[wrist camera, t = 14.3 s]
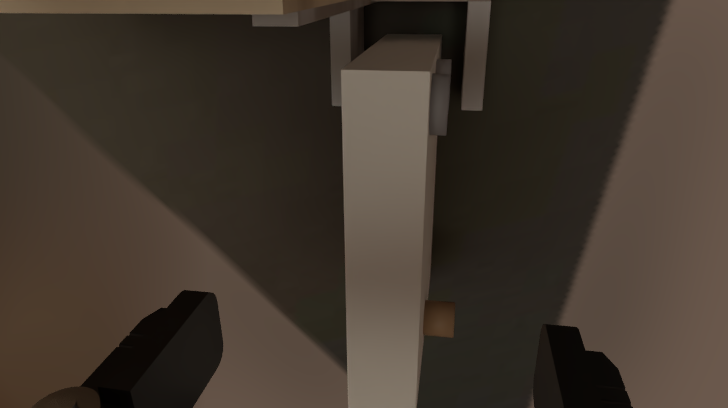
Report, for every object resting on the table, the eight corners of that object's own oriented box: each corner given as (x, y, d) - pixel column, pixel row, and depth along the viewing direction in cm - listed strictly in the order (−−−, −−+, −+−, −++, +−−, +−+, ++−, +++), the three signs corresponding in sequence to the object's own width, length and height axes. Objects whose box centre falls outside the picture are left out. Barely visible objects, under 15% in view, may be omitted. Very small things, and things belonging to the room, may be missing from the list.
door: (387, 33, 24) (340, 69, 14) (470, 34, 23) (476, 72, 14) (384, 270, 28) (348, 410, 19) (453, 276, 28) (449, 423, 19)
